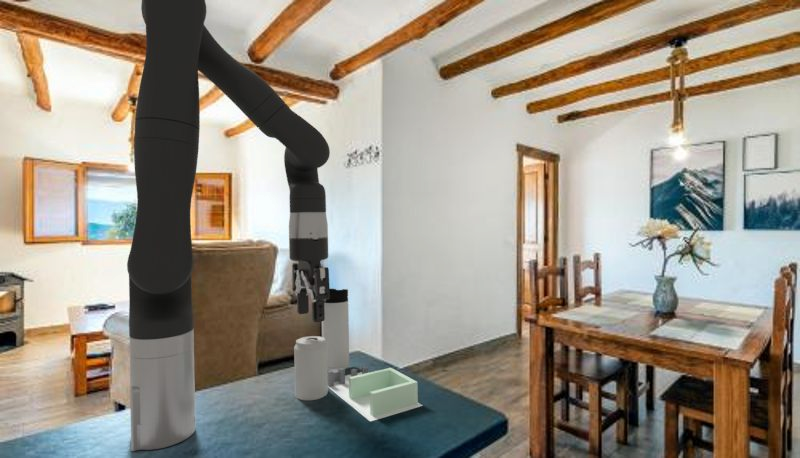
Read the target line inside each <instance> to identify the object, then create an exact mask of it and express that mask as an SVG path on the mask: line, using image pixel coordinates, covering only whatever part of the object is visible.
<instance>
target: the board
mask: <svg viewBox="0 0 800 458" xmlns="http://www.w3.org/2000/svg"><path fill="white" fill-rule="evenodd" d="M365 373H370V372H369V367H368V366H361V371H360V372H358V369H357V368H352V369H350V374H347V375H346V369H344V368H339V370H337V369H334V370H329V371H327V375H328V389H330V390H331V391H332V392H333V393H335V394H336V395H337V396H338V397H339V398H341V399H342V400H343V401H344V402H345V403H347V405H349V406H350V407H351V408H352V409H354V410H355V411H357V413H359V414H360V415H362V417H364V418H365V419H366V420H368V421H369V422H374V421H377V420H380V419H383V418H387V417H390V416H394V415H397V414H400V413H404V412H407V411H410V410H413V409H417V408H420V407H423V406H424V405H423V404H421V403H419V402H418V403H417V404H414V405H411V406H407V407H404V408H401V409H397V410H394V411H391V412H387V413H384V414H380V415H377V416H374V417H373V416H372V415H370V395H367V396H364V397H360V398H356V399H352V400H351V399H350V398H349V377H352V376H357V375H361V374H365Z"/></svg>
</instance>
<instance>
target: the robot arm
mask: <svg viewBox="0 0 800 458" xmlns="http://www.w3.org/2000/svg"><path fill="white" fill-rule="evenodd" d="M140 5H141V16H142V19H143V22H144V25H145V40H146V41H145V43H146V45H145V58H144V64H143V69H142V73H141V79H140V84H139V89H138V94H137V101H136V109H135V110H136V111H135V116H134V117H135V119H134V135H133V136H134V138H133V139H134V140H133V159H134V161H133V162H134V163H133V164H134V176H135V184H136V185H135V186H136V193H137V194H136V195H137V200H136V201H137V205H136V206H137V208H136V215H135V221H134V222H135V224H134V229H133V234H132V242H131V245H130V246H131V247H130V250H129V255H128V257H127V262H126V263H127V264H126V268H127V274H128V289H129V290H128V292H129V293H128V294H129V298H128V299H129V307H128V333H129V373H130V374H129V379H130V380H129V385H130V386H129V397H130V447H131V448H130V449H131V452H136V451H141V450H144V451H145V450H146V451H148V450H149V451H150V450H158V449H159V450H160V449H163V448H168V447H170V446H171V447H172V446H174V445H177V444H179V443H181V442H183V441H185V440H187V439H189V437H191V436H192V435H193V434H194V433H195V431H196V391H195V389H196V388H195V387H196V386H195V383H196V382H195V380H196V379H195V378H196V377H195V338H194V337H195V333H194V332H195V331H194V330H195V329H194V307H193V299H192V293H193V292H192V273H193V270H194V254H193V245H192V244H193V243H192V232H191V231H192V230H191V229H192V228H191V226H192V225H191V206H192V205H191V204H192V196H193V192H194V187H195V180H196V173H197V167H198V156H199V147H200V146H199V143H200V121H201V120H200V115H201V114H200V86H199V85H200V84H199V72H200V74H202V75H204V76H205V78H207V79H208V80H209V81H210V82H211V83H212V84H214V85H215V87H217V88H218V89H219V91H220V92H222V93H223V94H224V95H226V97H227V98H228V99H229V100H230V101H231V102H232V103H233V104H234V105H235V106H236V107H237V108H238V109H239V110H240V111H241V112H242V113H243V114H244V115H245V116H246V117H247V118H248V119H249V120H250V121H251V123H252V124H254V125H255V126H256V127H257V128H258V130H259V131H261V133H262V134H264V135H265V136H266V137H268V138H271V139H275V140H278V142H279V143H280V144H282V145H283V146H284V147H285V149H284V155H283V157H284V158H283V161H284V170H285V175H286V180H287V181H286V182H287V184H288V187H289V188H288V189H289V219H288V220H289V221H288V238H289V239H288V240H289V241H288V242H289V243H288V244H289V245H288V248H289V252H288V253H289V254H288V255H289V259H290V260H291V261H293V262H294V263H292V264H291V266H292V268H291V269H292V276H291V277H292V289H291V290H292V291H293V292H294V294H295V296H296V305H297V310H296V311H297V314H299V315H306V314H308V313H309V312H310V308H309V307H310V306H309V295H310V299H311V316H312V317H311V318H312V319H311V321H313V322H314V323H320V322H321V323H322V321H324V319H325V311H324V301H326V299H330V289H331V287H330V273H329V272H330V270H329V266H328V267H327V266H325V267H324V266H323V267H322V263H321V262H322V261H323V260H328V258H329V234H328V233H329V231H328V230H329V228H328V227H329V225H328V218H327V200H326V198H327V196H326V188H325V186H324V185H323V184H321V183H320V180H319V171H318V169H319V168H322V167H323V166H324V165H325V164H326V163H327V162H328V161H329V158H330V155H331V153H330V151H331V150H330V146H329V143H328V141H327V140H326V139H325V137H324V135H323V134H322V133H321V132H320V131H319V130H318V129H317V128H316V127H315V126H313V124H311V123H310V122H308V121H307V120H306V119H305V118H303V117H302V116H300V115H299V114H297V113H296V112H295V111H293V110H292V108H290V106H289V105H288V104H287V103H286V102H285V101H284V100H283V99H282V98H281V96H280V95H279V94H278V93H277V92H276V91H275V89H273V87H271V85H270V84H269V83H267V82H266V81H265V80H264V79H263V78H262V77H260V76H259V74H257V73H256V72H254V70H253V71H252V70H251V69H250V68H248V67H247V66H245V65H244V64H242V63H241V62H240V61H238V60H237V59H236V58H234V57H233V56H232V55H231V54H229V53H228V52H227V51H226V50H225V49H224V48H223V47H222V46H221V45H220V44H219V42H218V41H217V40H216V39H215V37H214V36H213V35H212V34H211V32H210V31H209V29H207V27H206V26H205V20H206V17H207V5H206V0H141V4H140ZM324 289H325V291H324Z"/></svg>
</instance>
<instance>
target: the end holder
mask: <svg viewBox="0 0 800 458" xmlns="http://www.w3.org/2000/svg"><path fill="white" fill-rule="evenodd" d="M418 384H419V383H418V381H417V380H414V379H413V378H411V377H409V376H407V375H406V374H403V373H402V372H400V371H398V370H396V369H394V368H392V367H387V368H384V369H379V370H374V371H371V372H369V373H365V374H361V375H357V376H352V377H349V398H350V399H351V400H352V399H356V398H360V397H364V396H367V395H370V415H372V416H373V417H374V416H377V415H380V414H384V413H387V412H391V411H394V410H397V409H401V408H404V407H407V406H411V405H414V404H417V403H419V401H418V400H419V398H418V397H419V395H418V394H419V393H418V392H419V391H418V389H419V388H418V387H419V386H418Z"/></svg>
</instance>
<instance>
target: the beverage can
mask: <svg viewBox="0 0 800 458" xmlns="http://www.w3.org/2000/svg"><path fill="white" fill-rule="evenodd" d="M293 352H294V353H293V354H294V355H293V357H294V358H293V359H294V396H295V398H296V399H298V400H301V401H314V400H315V401H316V400H319V399H322V398H324V397H325V396H327V395H328V392H329V388H328V375H327V344H326V343H325V338H323V337H322V336H318V335H310V336H302V337H300V338H298V339H296V340H295V345H294V346H293Z"/></svg>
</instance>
